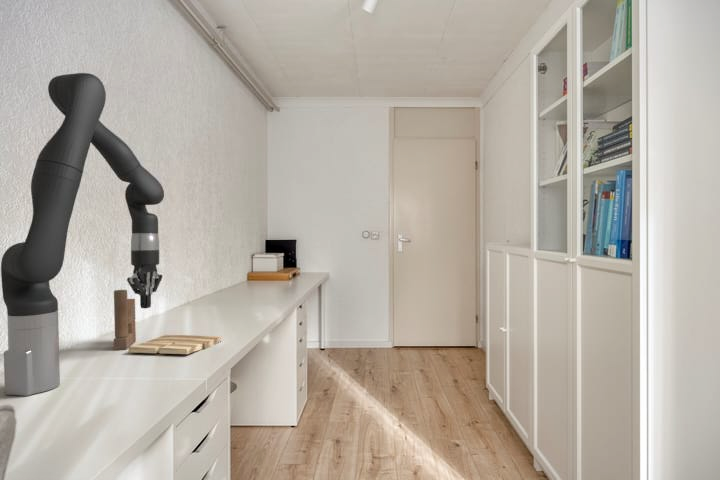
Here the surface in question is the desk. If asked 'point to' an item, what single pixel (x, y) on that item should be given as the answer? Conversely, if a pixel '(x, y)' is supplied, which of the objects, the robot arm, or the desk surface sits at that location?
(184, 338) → the laid floor
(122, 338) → the wooden block
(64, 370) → the desk surface
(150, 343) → the plank
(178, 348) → the plank
